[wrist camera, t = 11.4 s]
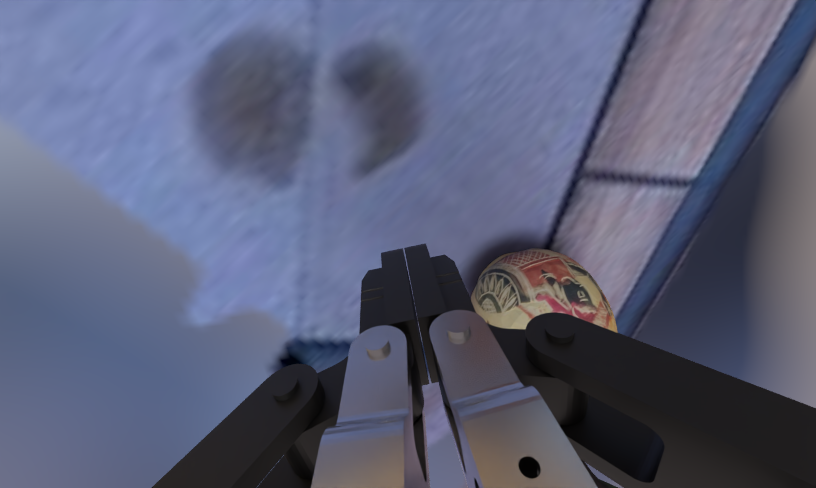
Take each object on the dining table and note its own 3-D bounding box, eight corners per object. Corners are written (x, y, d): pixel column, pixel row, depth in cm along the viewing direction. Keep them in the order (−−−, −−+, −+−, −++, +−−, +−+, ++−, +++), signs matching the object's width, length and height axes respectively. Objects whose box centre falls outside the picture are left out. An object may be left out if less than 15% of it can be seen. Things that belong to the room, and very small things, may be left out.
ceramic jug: (576, 226, 45) (866, 451, 19) (549, 316, 52) (732, 570, 26) (453, 227, 43) (580, 476, 17) (442, 320, 50) (521, 597, 24)
